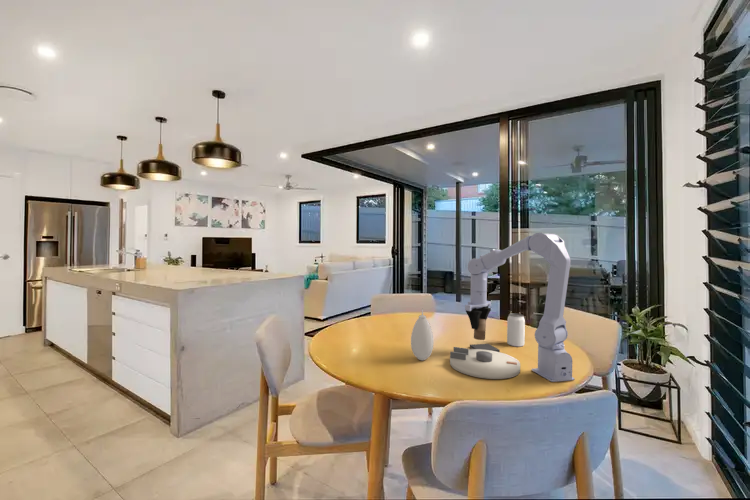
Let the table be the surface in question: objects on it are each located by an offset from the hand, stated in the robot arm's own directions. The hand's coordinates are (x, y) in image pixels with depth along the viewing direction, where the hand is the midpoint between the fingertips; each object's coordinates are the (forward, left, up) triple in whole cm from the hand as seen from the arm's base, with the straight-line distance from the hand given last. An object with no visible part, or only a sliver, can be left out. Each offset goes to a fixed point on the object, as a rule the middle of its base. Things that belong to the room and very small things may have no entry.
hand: (478, 327), depth 126 cm
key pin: (-1, 0, -4) cm, 4 cm away
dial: (-13, +5, -9) cm, 16 cm away
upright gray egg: (-3, +23, -10) cm, 25 cm away
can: (+7, -20, -10) cm, 24 cm away
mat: (+3, -4, -9) cm, 11 cm away
